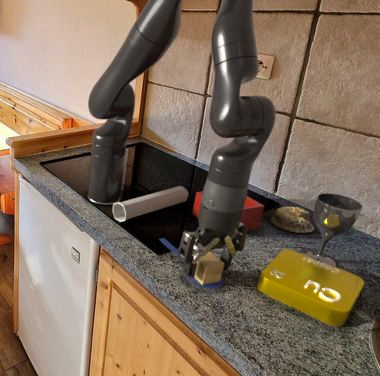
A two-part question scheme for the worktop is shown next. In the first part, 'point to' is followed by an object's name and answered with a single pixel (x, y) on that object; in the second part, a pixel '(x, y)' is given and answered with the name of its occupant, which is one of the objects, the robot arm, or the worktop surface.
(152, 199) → the tube
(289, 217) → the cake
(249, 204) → the red open tray
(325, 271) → the element tile
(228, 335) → the worktop surface
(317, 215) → the wine glass
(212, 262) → the block
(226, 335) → the worktop surface
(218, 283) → the spoon
